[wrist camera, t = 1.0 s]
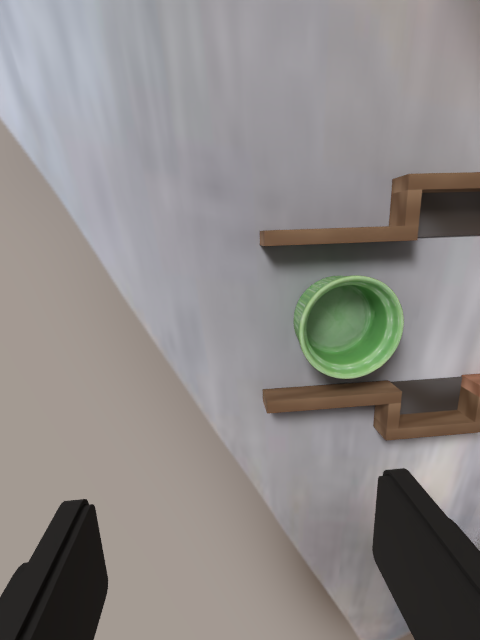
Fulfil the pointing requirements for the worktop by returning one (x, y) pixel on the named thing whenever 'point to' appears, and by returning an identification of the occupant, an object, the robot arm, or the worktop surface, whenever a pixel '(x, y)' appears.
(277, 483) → the worktop surface
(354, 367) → the ramekin
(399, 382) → the box
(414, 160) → the worktop surface
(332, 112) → the worktop surface
